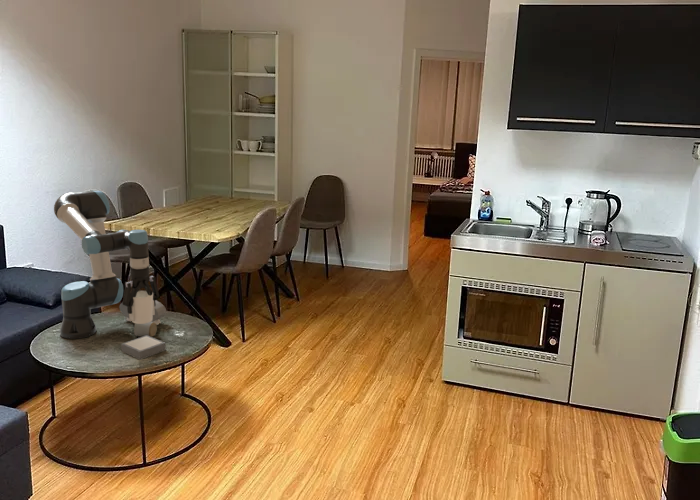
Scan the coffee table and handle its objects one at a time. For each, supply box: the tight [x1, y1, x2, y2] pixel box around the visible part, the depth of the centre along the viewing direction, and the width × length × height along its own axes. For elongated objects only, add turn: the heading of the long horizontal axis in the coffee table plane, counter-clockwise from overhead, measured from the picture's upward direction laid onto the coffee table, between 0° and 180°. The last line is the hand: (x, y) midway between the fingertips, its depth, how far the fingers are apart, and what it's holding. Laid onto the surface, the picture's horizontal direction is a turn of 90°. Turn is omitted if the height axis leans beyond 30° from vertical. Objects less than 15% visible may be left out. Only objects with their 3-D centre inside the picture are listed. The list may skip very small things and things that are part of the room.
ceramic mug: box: [133, 322, 158, 338], centre depth 286 cm, size 11×8×8 cm
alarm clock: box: [119, 299, 167, 326], centre depth 301 cm, size 23×6×13 cm, turn 69°
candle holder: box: [131, 290, 153, 324], centre depth 264 cm, size 10×10×12 cm
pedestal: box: [120, 335, 167, 360], centre depth 269 cm, size 13×13×4 cm
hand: (142, 317), depth 265 cm, fingers closed on candle holder, 9 cm apart
